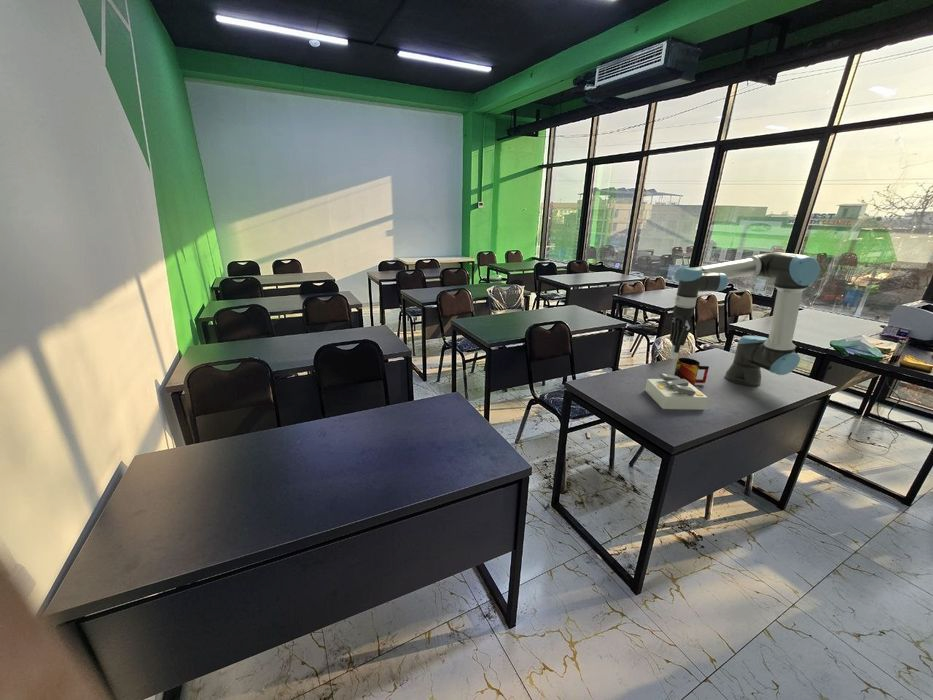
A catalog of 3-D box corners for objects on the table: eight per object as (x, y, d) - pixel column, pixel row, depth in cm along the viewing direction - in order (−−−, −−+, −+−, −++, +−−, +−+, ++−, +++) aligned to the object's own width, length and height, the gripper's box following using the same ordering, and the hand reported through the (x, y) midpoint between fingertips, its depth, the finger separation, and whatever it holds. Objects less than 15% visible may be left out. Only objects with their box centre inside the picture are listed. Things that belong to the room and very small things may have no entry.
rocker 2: (683, 382, 178) (683, 378, 178) (688, 386, 175) (688, 382, 174) (665, 384, 179) (665, 380, 178) (669, 388, 175) (670, 384, 174)
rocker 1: (675, 379, 185) (677, 375, 184) (680, 383, 181) (681, 379, 180) (659, 376, 184) (660, 372, 183) (663, 380, 180) (665, 376, 180)
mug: (705, 385, 194) (710, 362, 190) (684, 389, 190) (689, 366, 185) (688, 377, 203) (693, 355, 199) (668, 381, 198) (672, 359, 194)
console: (682, 390, 188) (685, 378, 185) (704, 409, 171) (707, 395, 169) (645, 390, 188) (647, 377, 185) (663, 409, 171) (666, 395, 168)
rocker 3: (689, 391, 173) (690, 387, 173) (693, 395, 170) (696, 391, 169) (672, 387, 173) (674, 383, 172) (676, 391, 169) (678, 387, 168)
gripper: (668, 302, 170) (657, 353, 178) (683, 309, 158) (672, 364, 166) (685, 302, 170) (674, 353, 178) (702, 310, 158) (689, 364, 166)
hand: (673, 358), depth 172 cm, fingers closed
